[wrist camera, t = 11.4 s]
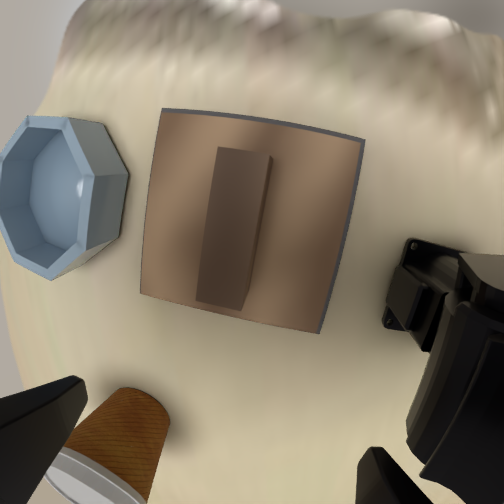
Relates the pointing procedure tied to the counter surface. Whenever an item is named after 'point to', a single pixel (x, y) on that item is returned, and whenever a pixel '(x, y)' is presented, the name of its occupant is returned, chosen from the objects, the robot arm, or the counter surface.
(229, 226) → the cover
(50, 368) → the counter surface
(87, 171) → the bowl
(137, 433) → the disposable coffee cup
